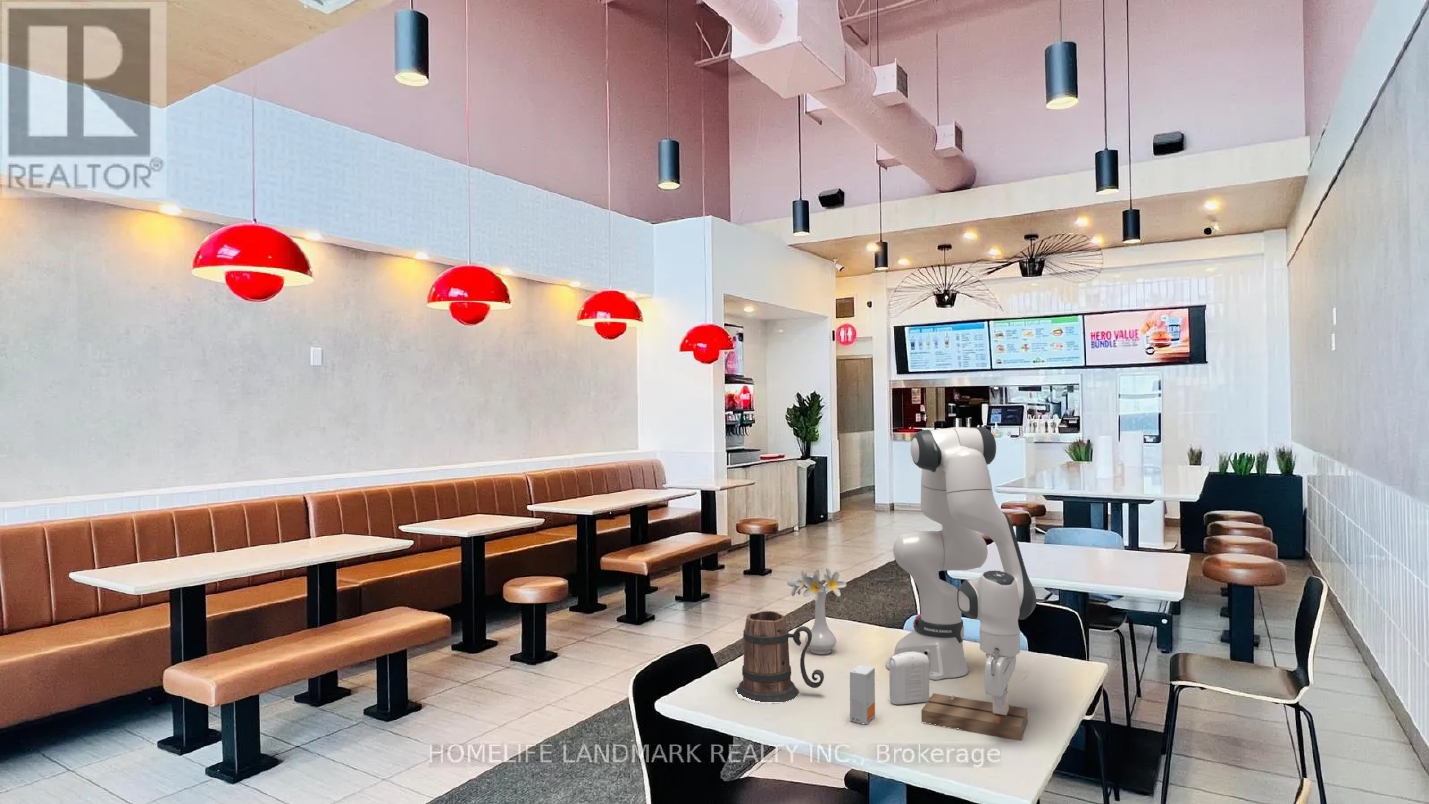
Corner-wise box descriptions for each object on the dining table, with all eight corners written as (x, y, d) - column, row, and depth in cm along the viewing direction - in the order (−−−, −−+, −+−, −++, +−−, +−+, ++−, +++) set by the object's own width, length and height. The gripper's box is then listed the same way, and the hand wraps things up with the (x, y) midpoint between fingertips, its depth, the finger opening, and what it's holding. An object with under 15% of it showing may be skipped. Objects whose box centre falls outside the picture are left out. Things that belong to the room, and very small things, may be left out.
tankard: (727, 700, 203) (726, 622, 203) (743, 678, 220) (742, 606, 220) (819, 709, 197) (817, 628, 197) (828, 685, 213) (827, 610, 213)
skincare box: (866, 725, 187) (865, 674, 187) (849, 722, 189) (848, 671, 189) (876, 716, 192) (875, 667, 192) (859, 713, 194) (858, 664, 194)
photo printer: (923, 696, 204) (923, 648, 204) (932, 702, 200) (931, 653, 200) (887, 700, 202) (886, 651, 202) (894, 706, 198) (894, 657, 198)
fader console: (921, 722, 188) (921, 709, 188) (933, 705, 198) (933, 692, 198) (1020, 740, 177) (1020, 726, 177) (1027, 721, 188) (1027, 707, 188)
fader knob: (992, 720, 184) (992, 693, 184) (995, 715, 187) (995, 688, 187) (1006, 722, 182) (1006, 695, 182) (1008, 717, 186) (1008, 690, 186)
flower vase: (797, 642, 251) (795, 563, 251) (853, 649, 243) (852, 567, 243) (782, 654, 240) (780, 571, 240) (841, 662, 232) (839, 576, 231)
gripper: (1007, 658, 174) (1008, 721, 174) (1020, 633, 192) (1021, 690, 192) (977, 654, 177) (978, 716, 177) (993, 630, 195) (993, 686, 195)
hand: (1000, 702), depth 185 cm, fingers closed on fader knob, 3 cm apart
